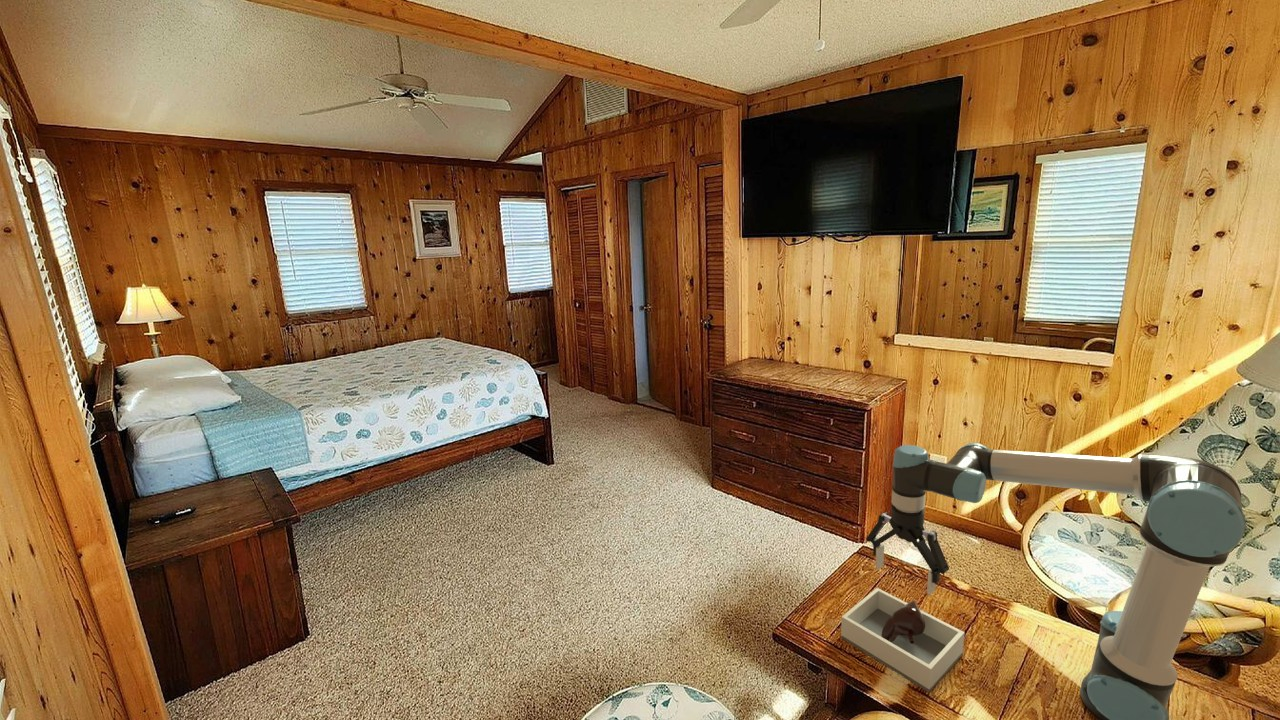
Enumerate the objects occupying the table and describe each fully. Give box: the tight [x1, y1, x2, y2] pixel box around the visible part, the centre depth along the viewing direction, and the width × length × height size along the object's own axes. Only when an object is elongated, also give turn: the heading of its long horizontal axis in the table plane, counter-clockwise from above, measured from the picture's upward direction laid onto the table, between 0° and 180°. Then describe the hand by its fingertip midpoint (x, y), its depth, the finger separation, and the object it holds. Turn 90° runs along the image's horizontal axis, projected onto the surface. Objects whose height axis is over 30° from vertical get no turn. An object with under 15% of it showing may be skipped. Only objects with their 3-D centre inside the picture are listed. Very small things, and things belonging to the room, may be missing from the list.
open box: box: [840, 587, 966, 694], centre depth 145 cm, size 24×18×7 cm
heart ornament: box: [882, 600, 925, 644], centre depth 146 cm, size 6×12×11 cm
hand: (904, 579), depth 140 cm, fingers open, 13 cm apart
